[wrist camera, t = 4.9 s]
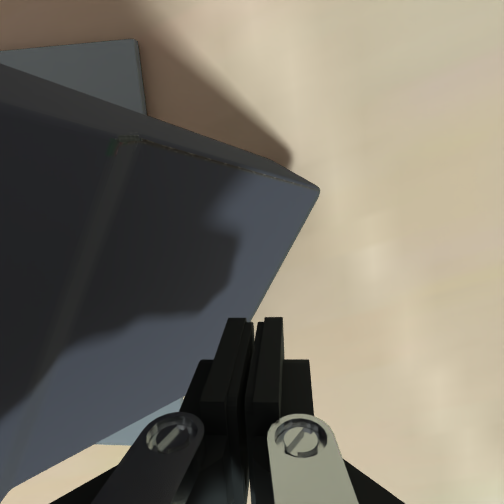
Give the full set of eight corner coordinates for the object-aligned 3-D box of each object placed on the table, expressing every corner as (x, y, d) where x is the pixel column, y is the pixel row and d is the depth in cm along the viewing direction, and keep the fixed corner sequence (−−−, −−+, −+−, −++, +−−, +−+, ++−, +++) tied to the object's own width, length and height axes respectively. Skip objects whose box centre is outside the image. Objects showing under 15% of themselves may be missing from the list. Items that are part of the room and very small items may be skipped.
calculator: (261, 153, 18) (-278, -47, 5) (335, 195, 16) (-209, 45, 3) (174, 333, 21) (-286, 479, 9) (228, 386, 20) (-253, 668, 7)
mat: (137, 41, 17) (133, 38, 17) (188, 441, 23) (186, 447, 23) (-170, 69, 19) (-182, 67, 19) (-48, 433, 25) (-55, 438, 25)
